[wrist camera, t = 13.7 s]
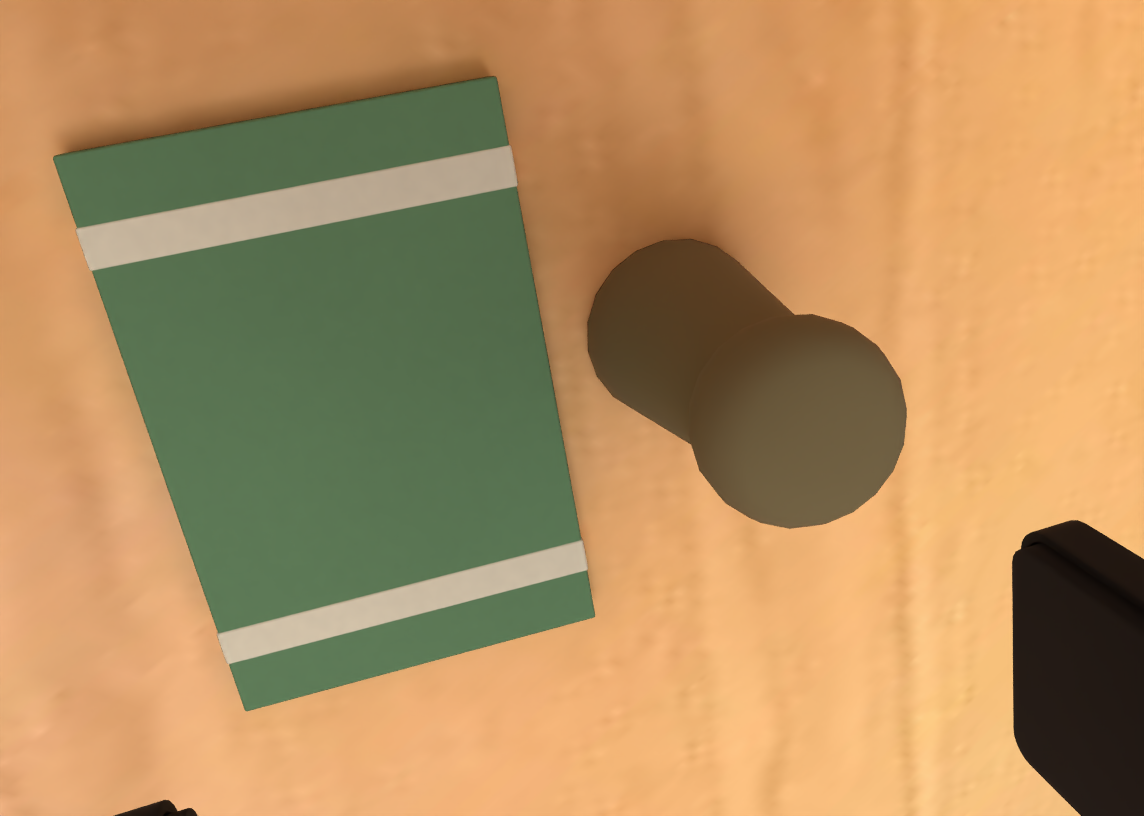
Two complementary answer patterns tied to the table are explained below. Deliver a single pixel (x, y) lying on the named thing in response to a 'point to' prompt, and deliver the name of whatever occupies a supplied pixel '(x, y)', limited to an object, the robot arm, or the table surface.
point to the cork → (749, 384)
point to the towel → (342, 380)
